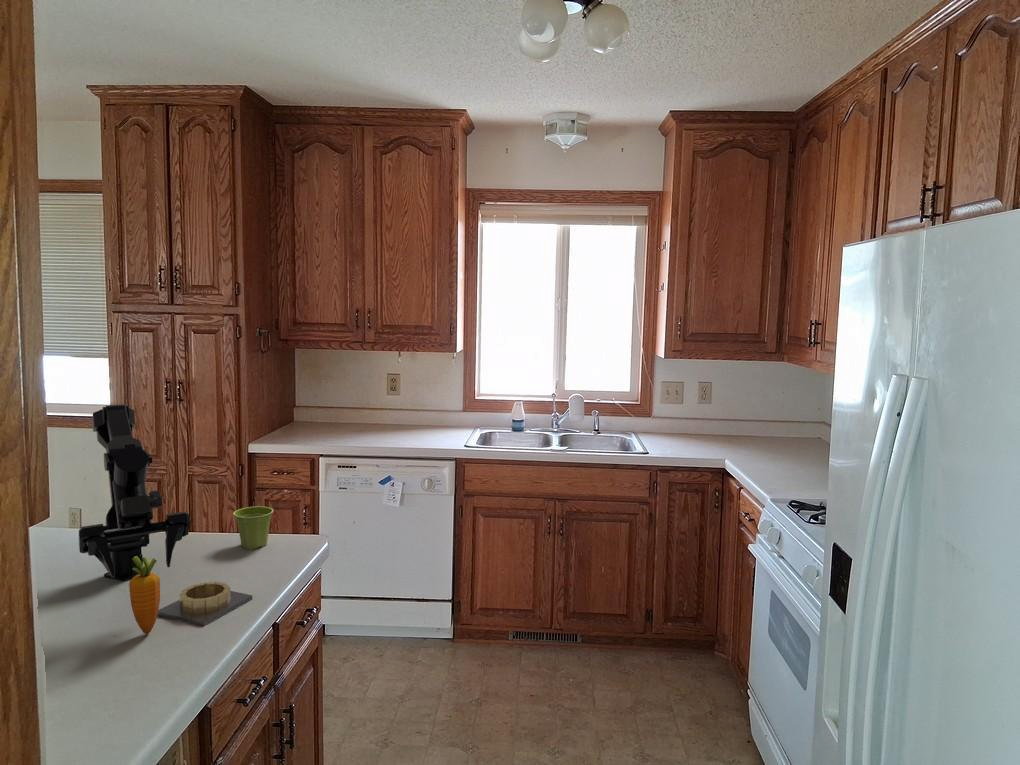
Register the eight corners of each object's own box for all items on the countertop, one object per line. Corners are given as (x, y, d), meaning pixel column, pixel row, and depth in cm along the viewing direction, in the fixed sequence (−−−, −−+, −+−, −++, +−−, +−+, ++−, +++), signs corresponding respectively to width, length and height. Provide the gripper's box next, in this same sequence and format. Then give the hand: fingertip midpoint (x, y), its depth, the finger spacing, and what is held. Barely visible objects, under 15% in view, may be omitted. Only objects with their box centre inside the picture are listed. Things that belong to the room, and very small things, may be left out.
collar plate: (156, 614, 135) (155, 598, 135) (207, 589, 147) (206, 574, 147) (203, 626, 131) (203, 609, 131) (252, 599, 143) (251, 583, 143)
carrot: (168, 630, 129) (164, 553, 127) (146, 642, 124) (142, 562, 123) (147, 626, 131) (144, 549, 129) (125, 638, 126) (121, 558, 124)
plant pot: (241, 538, 179) (240, 506, 178) (278, 538, 180) (277, 505, 179) (229, 551, 170) (228, 517, 169) (268, 551, 170) (267, 517, 169)
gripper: (75, 484, 127) (83, 561, 119) (186, 471, 137) (200, 541, 129) (76, 515, 134) (83, 590, 126) (181, 501, 144) (193, 568, 137)
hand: (141, 571), depth 129 cm, fingers open, 9 cm apart
